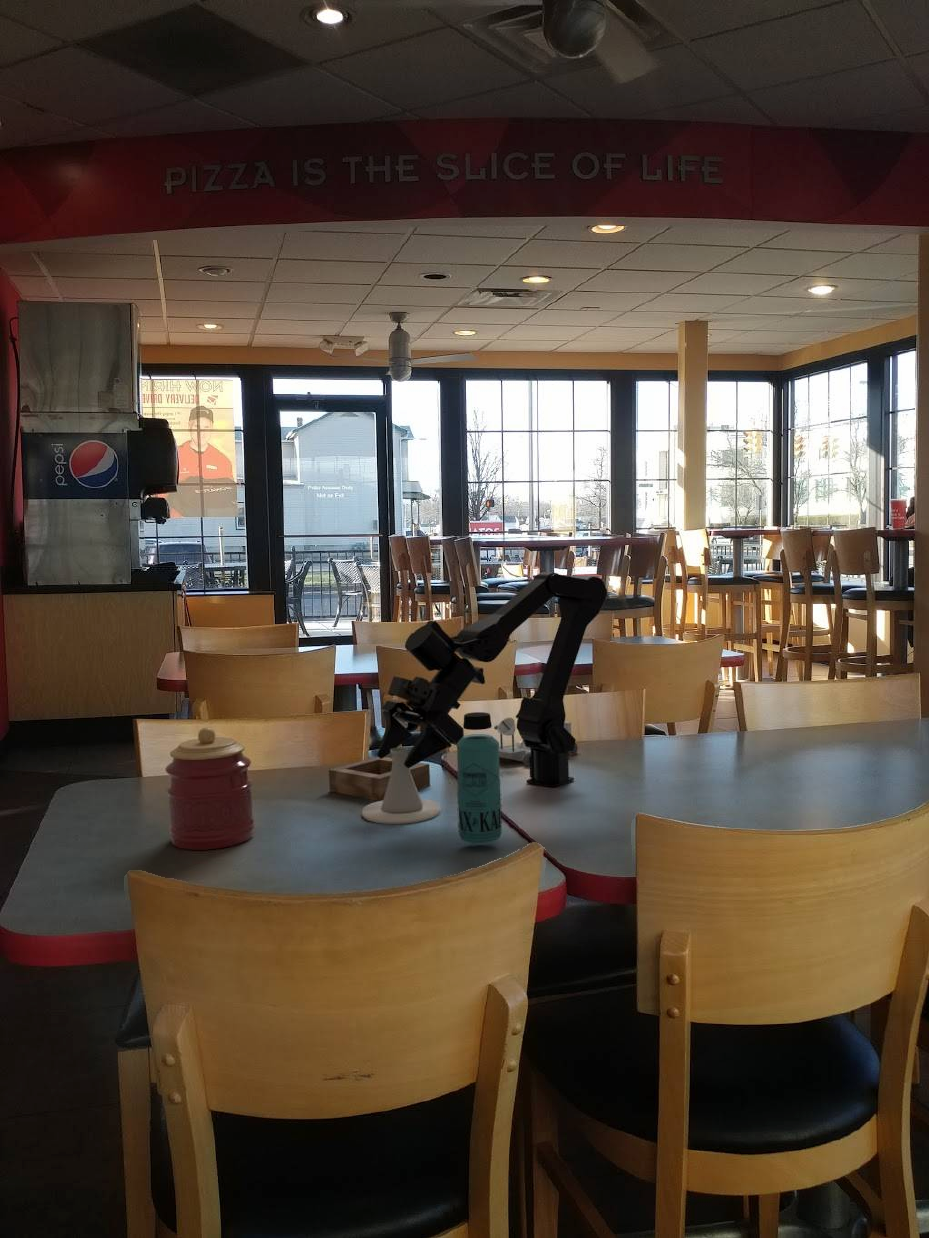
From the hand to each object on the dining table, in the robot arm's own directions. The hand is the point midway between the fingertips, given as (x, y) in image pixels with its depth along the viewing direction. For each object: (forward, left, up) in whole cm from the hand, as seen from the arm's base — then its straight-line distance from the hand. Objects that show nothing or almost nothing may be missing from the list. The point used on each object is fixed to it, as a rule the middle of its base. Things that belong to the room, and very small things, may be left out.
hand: (392, 761), depth 172 cm
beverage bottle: (-23, +6, -9) cm, 26 cm away
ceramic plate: (0, -1, -9) cm, 9 cm away
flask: (-1, -1, -8) cm, 8 cm away
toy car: (+7, -46, -10) cm, 47 cm away
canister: (+15, +26, -9) cm, 31 cm away
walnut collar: (+15, -11, -9) cm, 21 cm away
